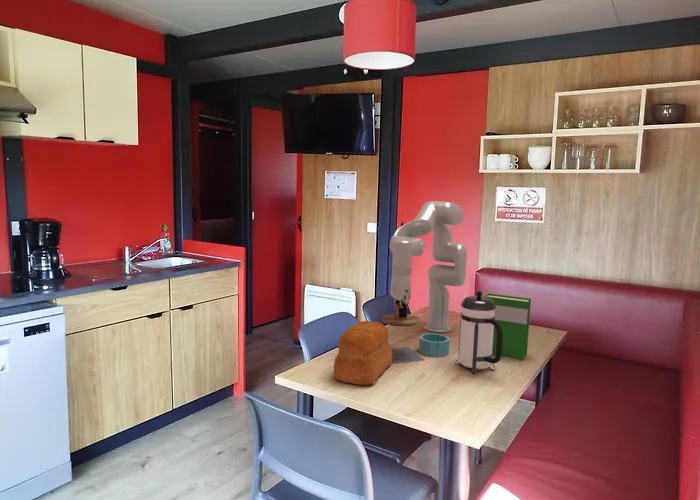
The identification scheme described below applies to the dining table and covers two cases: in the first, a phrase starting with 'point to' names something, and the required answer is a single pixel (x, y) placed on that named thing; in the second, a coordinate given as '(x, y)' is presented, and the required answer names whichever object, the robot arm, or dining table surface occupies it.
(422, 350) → the bowl
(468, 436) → the dining table surface
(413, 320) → the lid
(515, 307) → the hardback book
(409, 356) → the mat
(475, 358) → the coffee press
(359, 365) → the bread
